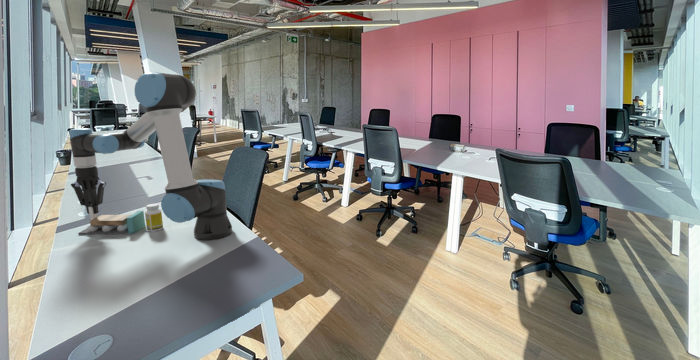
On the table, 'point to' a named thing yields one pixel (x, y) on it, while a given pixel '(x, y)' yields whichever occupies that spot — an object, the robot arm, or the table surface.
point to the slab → (110, 220)
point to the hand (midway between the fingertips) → (94, 220)
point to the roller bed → (118, 226)
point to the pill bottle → (153, 218)
